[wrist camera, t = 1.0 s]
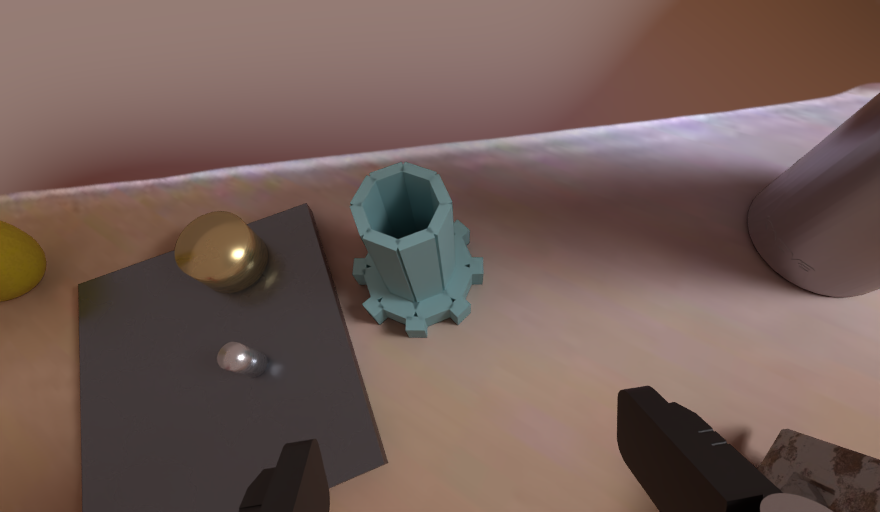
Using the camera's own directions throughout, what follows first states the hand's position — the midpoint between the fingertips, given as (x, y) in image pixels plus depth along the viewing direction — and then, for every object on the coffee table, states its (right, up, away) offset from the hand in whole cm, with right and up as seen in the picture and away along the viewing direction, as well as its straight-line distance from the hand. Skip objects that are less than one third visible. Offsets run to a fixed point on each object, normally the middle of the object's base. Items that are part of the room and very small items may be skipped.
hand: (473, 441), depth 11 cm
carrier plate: (-15, -3, +17) cm, 23 cm away
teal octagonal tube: (-2, +3, +19) cm, 19 cm away
